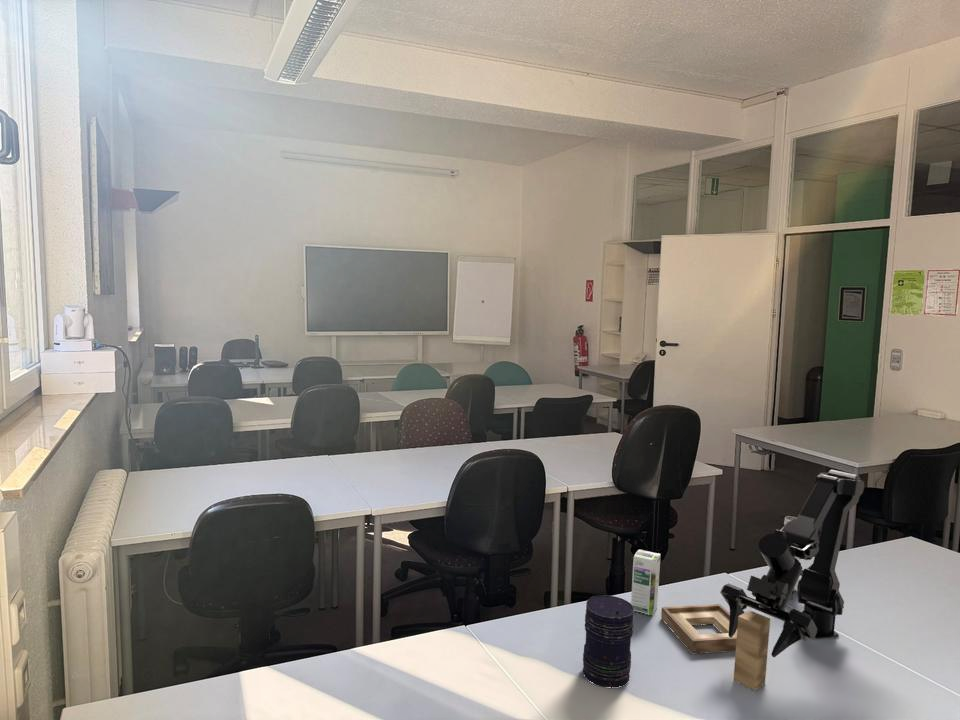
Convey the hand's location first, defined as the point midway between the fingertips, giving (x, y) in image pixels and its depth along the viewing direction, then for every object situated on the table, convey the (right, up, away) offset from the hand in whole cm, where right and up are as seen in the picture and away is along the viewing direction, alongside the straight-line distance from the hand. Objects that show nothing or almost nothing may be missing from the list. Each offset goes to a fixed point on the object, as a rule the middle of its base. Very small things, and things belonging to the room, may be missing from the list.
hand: (750, 646), depth 132 cm
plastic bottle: (+29, -5, +46) cm, 54 cm away
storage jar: (-29, -7, +2) cm, 30 cm away
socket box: (-2, -6, +20) cm, 21 cm away
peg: (0, -8, +1) cm, 8 cm away
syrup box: (-14, -5, +31) cm, 34 cm away
